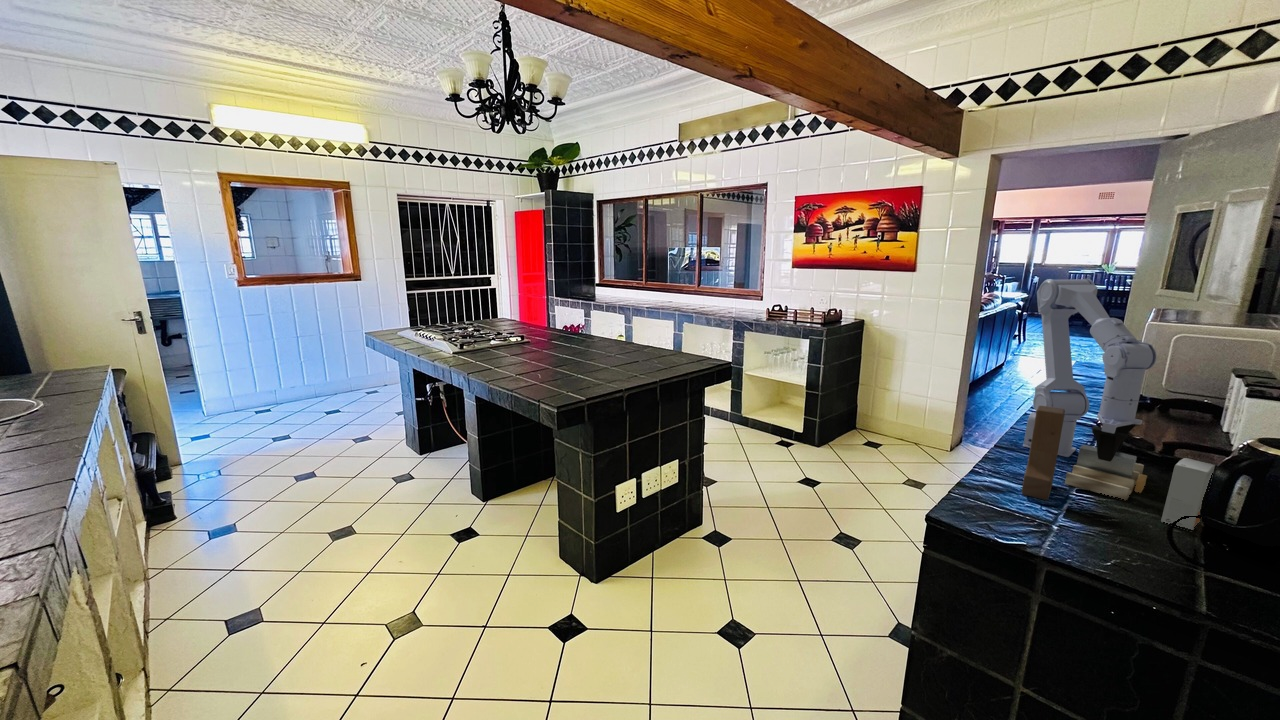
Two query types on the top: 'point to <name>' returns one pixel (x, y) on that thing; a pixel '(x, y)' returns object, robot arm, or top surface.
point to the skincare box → (1187, 492)
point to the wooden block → (1043, 452)
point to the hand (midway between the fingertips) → (1108, 455)
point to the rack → (1107, 481)
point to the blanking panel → (1107, 462)
